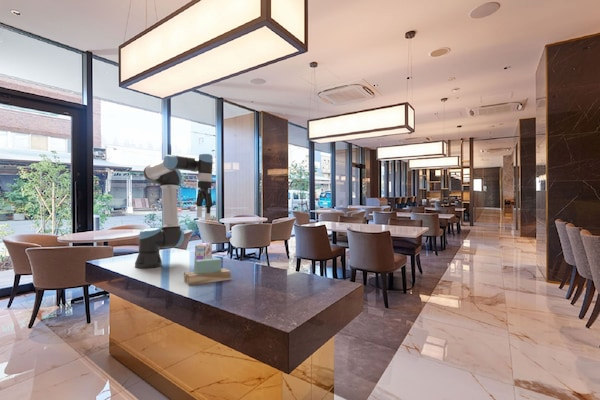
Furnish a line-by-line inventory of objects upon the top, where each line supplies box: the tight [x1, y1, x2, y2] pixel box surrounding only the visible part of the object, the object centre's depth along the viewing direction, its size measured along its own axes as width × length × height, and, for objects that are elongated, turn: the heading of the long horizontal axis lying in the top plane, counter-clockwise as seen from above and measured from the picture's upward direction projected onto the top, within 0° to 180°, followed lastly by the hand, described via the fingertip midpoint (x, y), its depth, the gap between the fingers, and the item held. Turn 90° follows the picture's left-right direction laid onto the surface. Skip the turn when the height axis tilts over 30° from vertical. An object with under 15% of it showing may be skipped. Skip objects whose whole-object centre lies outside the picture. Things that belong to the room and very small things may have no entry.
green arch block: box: [193, 257, 223, 274], centre depth 158 cm, size 4×13×10 cm, turn 128°
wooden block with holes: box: [183, 267, 232, 286], centre depth 158 cm, size 9×22×4 cm, turn 128°
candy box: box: [194, 242, 213, 261], centre depth 178 cm, size 14×6×16 cm, turn 179°
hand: (203, 218), depth 169 cm, fingers open, 13 cm apart
